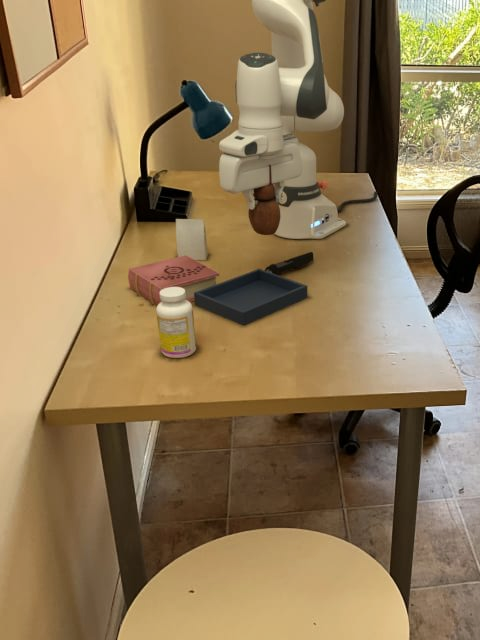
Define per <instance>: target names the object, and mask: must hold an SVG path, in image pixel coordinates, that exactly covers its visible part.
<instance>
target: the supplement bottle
mask: <svg viewBox="0 0 480 640" xmlns="http://www.w3.org/2000/svg"><path fill="white" fill-rule="evenodd" d="M185 298H186V292H185V289H183V288H181V287H168V288H164V289H162V290H161V291H160V299H161V301H162V302H161V303H159V304H158V306H157V305H156V309H155V313H156V321H157V328H158V329H157V330H158V335H159V336H158V338H159V342H160V343H159V344H160V350H161V353H162V355H163V356H165V357H167V358H169V359H184V358H186V357H189V356H191V355H193V354H195V352H196V351H197V339H196V329H195V328H196V327H195V320H194V319H195V318H194V309H193V305H192V302H189V301H187V300H185Z"/></svg>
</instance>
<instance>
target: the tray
mask: <svg viewBox="0 0 480 640" xmlns="http://www.w3.org/2000/svg"><path fill="white" fill-rule="evenodd" d="M308 293H309V292H308V285H306V284H303V283H301V282H298V281H295V280H293V279H290V278H288V277H284V276H281V275H276V274H273V273H270V272H267V271H265V269H262V268H257V269H254V270H252V271H249V272H246V273H244V274H241V275H238V276H236V277H233V278H229V279H227V280H225V281H222V282H220V283H216V285H214V286H211V287H208V288H206V289H203V290H200V291H197V292H195V293H194V306H196V307H199V308H200V309H203V310H205V311H208V312H210V313H213V314H215V315H218V316H219V317H222V318H225V319H227V320H229V321H232V322H234V323H237V324H240V325H241V326H246V325H248V324H251V323H253V322H256V321H257V320H261V319H262V318H265V317H266V316H270V315H271V314H273V313H275V312H278V311H281V310H283V309H285V308H288V307H289V306H292V305H294V304H296V303H299V302H302V301H304V300H305V299H308Z"/></svg>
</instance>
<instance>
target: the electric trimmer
mask: <svg viewBox="0 0 480 640" xmlns="http://www.w3.org/2000/svg"><path fill="white" fill-rule="evenodd" d="M314 257H315V255H314V252H313V251H309V252H306V253H302V254H300V255H297V256H294V257H291V258H289V259H285V260H282V261H279V262H277V263H271V264H269V265H268V266H266V267H265V269H264V270H265V271H267V272H270V273H273V274H276V275H279V276H281V275H282V274H284V273H287V272H289V271H292V270H299V269H301V268H303V267H305V266H306V265H308V264H310V263H312V262H314Z"/></svg>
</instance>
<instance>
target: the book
mask: <svg viewBox="0 0 480 640" xmlns="http://www.w3.org/2000/svg"><path fill="white" fill-rule="evenodd" d="M217 277H220V272H219V271H217V270H215V269H213V268H212V267H209V266H208V265H206V264H204V263H202V262H200V261H199V260H194V259H193V258H191V257H189V256H187V255H184V256H180V257H178V256H176V257H172V258H168V259H164V260H160V261H156V262H151V263H147V264H143V265H138V266H135V267H130V268H128V273H127V279H128V284H129V287H130V289H131V290H132V291H133V292H135V293H137V295H138V296H142V298H144V299H146V300H147V301H150V302H151V304H152V305H155V306H156V307H157V306H158V304H159V303H161V302H162V301H161V299H160V291H161V290H162V289H164V288H168V287H181V288H183V289H185V292H186V298H185V300H187V301H189V302H190V303H192V302H195V300H194V293H195V292H197V291H200V290H203V289H206V288H208V287H211V286H214V285H216V284H217V281H216V279H217Z"/></svg>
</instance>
